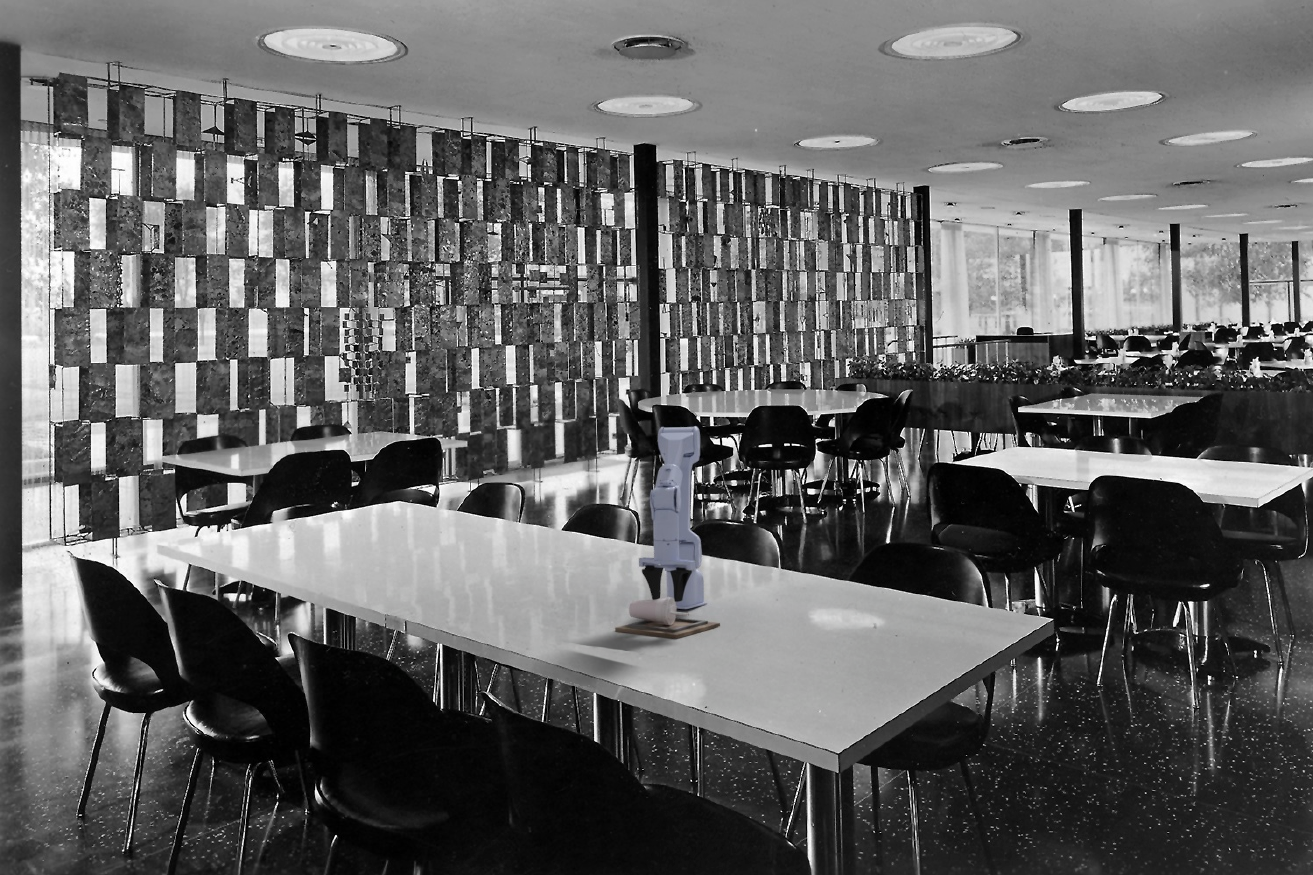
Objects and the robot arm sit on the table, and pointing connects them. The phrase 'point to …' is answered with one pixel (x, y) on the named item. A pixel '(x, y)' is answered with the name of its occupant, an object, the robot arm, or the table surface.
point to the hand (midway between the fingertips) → (667, 600)
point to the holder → (668, 628)
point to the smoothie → (655, 610)
